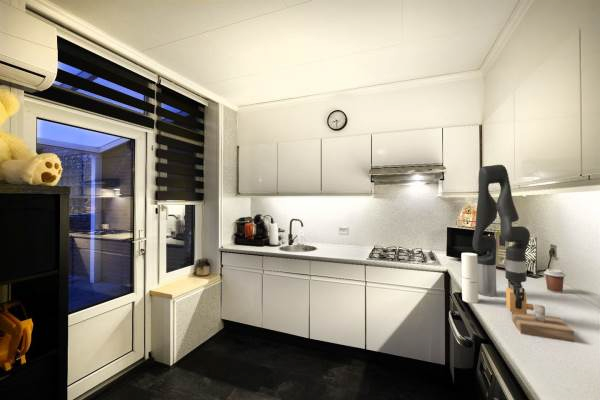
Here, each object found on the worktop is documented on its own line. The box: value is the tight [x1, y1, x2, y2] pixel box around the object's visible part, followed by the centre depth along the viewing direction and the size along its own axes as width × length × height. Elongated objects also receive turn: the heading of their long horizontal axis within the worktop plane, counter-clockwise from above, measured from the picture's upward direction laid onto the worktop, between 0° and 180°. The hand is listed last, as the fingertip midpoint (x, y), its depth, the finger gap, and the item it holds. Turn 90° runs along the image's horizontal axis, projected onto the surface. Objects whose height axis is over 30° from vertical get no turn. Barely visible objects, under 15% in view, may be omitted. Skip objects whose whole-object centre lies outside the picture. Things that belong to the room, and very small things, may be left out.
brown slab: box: [511, 304, 575, 342], centre depth 109 cm, size 12×16×10 cm
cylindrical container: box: [461, 252, 479, 304], centre depth 141 cm, size 7×7×25 cm
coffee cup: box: [543, 268, 566, 294], centre depth 152 cm, size 9×9×12 cm
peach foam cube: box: [505, 287, 535, 314], centre depth 122 cm, size 9×6×9 cm, turn 66°
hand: (516, 305), depth 122 cm, fingers closed on peach foam cube, 6 cm apart
